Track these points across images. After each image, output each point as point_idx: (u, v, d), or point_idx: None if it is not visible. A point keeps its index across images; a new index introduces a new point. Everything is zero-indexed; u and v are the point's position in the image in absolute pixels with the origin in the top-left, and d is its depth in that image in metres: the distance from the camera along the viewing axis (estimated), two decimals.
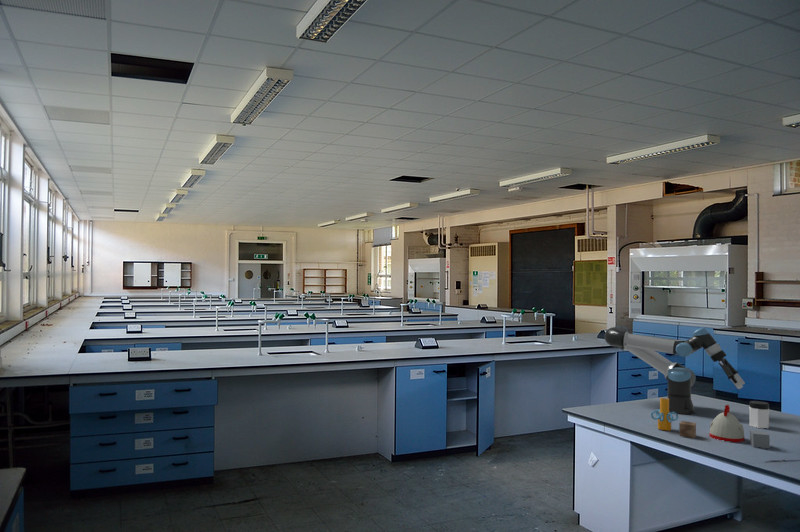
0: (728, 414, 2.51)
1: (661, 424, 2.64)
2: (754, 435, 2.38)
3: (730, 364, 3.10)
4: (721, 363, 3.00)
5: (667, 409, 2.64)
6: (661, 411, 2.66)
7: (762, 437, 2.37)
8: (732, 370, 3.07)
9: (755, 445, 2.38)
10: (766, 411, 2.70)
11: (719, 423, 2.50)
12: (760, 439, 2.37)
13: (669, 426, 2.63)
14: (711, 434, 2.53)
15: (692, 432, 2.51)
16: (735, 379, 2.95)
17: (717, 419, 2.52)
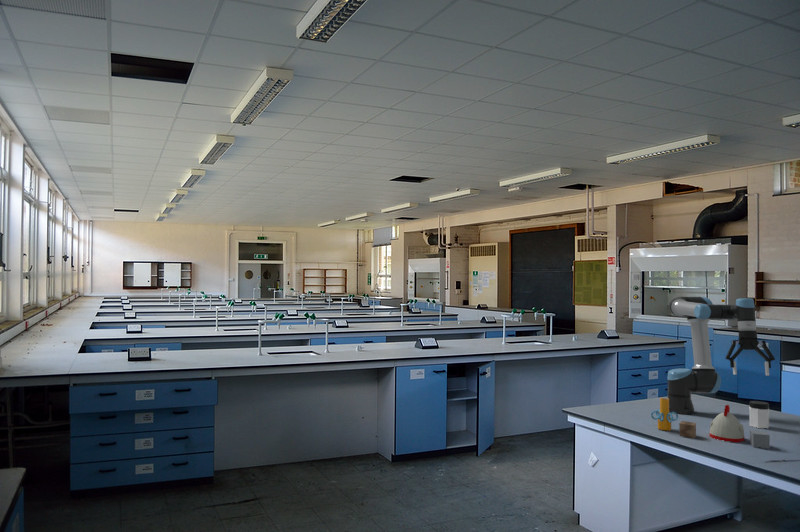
0: (728, 414, 2.51)
1: (661, 424, 2.64)
2: (754, 435, 2.38)
3: (768, 349, 2.59)
4: (732, 342, 2.65)
5: (667, 409, 2.64)
6: (661, 411, 2.66)
7: (762, 437, 2.37)
8: (762, 356, 2.60)
9: (755, 445, 2.38)
10: (766, 411, 2.70)
11: (719, 423, 2.50)
12: (760, 439, 2.37)
13: (669, 426, 2.63)
14: (711, 434, 2.53)
15: (692, 432, 2.51)
16: (732, 364, 2.62)
17: (717, 419, 2.52)
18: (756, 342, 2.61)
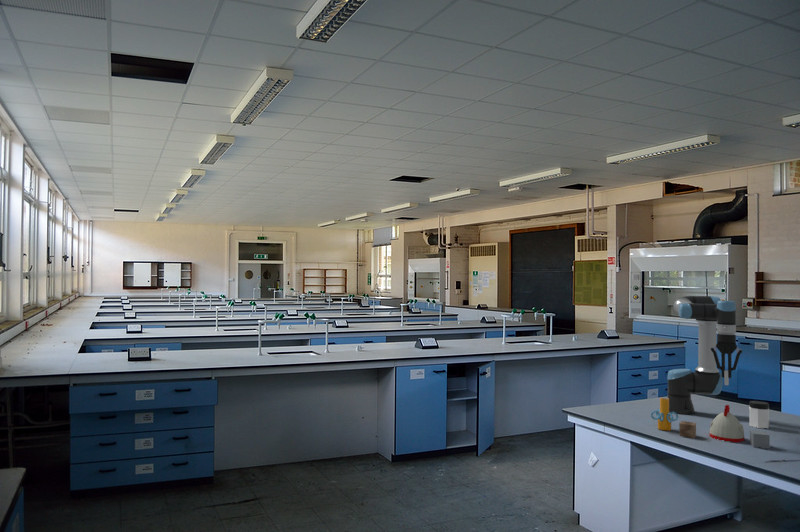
0: (728, 414, 2.51)
1: (661, 424, 2.64)
2: (754, 435, 2.38)
3: (737, 359, 2.50)
4: None
5: (667, 409, 2.64)
6: (661, 411, 2.66)
7: (762, 437, 2.37)
8: (728, 363, 2.53)
9: (755, 445, 2.38)
10: (766, 411, 2.70)
11: (719, 423, 2.50)
12: (760, 439, 2.37)
13: (669, 426, 2.63)
14: (711, 434, 2.53)
15: (692, 432, 2.51)
16: (723, 373, 2.53)
17: (717, 419, 2.52)
18: (733, 347, 2.51)
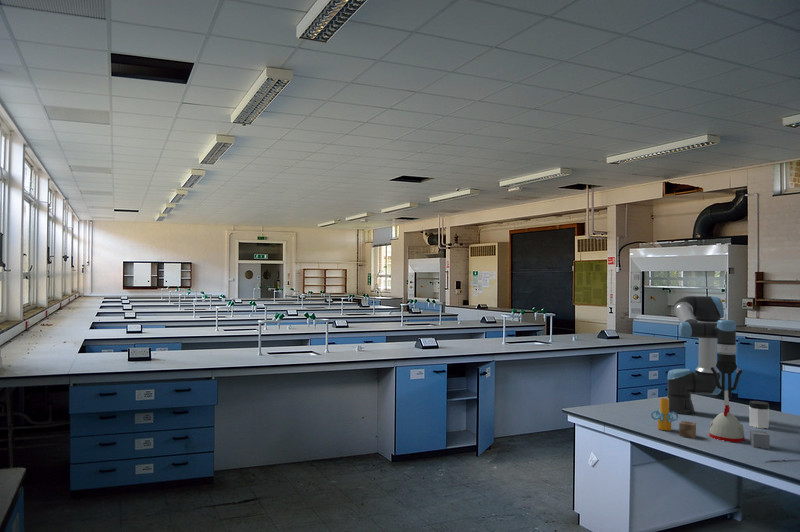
0: (728, 414, 2.51)
1: (661, 424, 2.64)
2: (754, 435, 2.38)
3: (738, 379, 2.50)
4: None
5: (667, 409, 2.64)
6: (661, 411, 2.66)
7: (762, 437, 2.37)
8: (728, 383, 2.52)
9: (755, 445, 2.38)
10: (766, 411, 2.70)
11: (719, 423, 2.50)
12: (760, 439, 2.37)
13: (669, 426, 2.63)
14: (711, 434, 2.53)
15: (692, 432, 2.51)
16: (723, 393, 2.53)
17: (717, 419, 2.52)
18: (733, 367, 2.51)
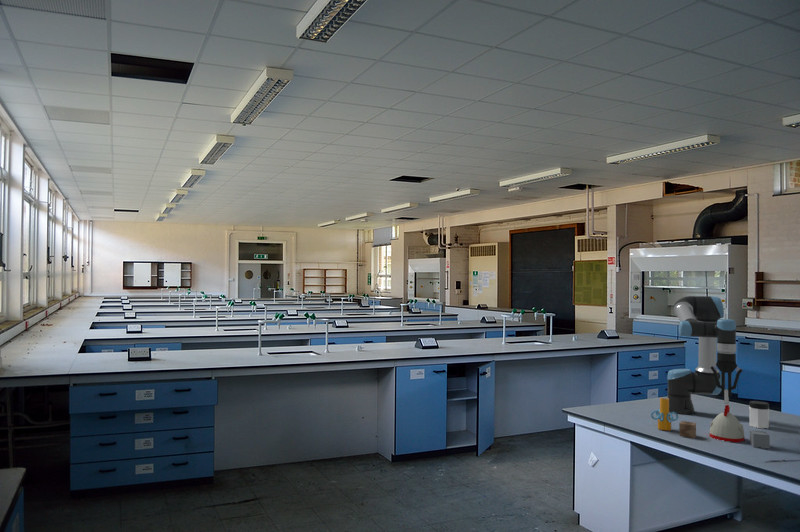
0: (728, 414, 2.51)
1: (661, 424, 2.64)
2: (754, 435, 2.38)
3: (737, 379, 2.50)
4: None
5: (667, 409, 2.64)
6: (661, 411, 2.66)
7: (762, 437, 2.37)
8: (728, 382, 2.53)
9: (755, 445, 2.38)
10: (766, 411, 2.70)
11: (719, 423, 2.50)
12: (760, 439, 2.37)
13: (669, 426, 2.63)
14: (711, 434, 2.53)
15: (692, 432, 2.51)
16: (723, 392, 2.53)
17: (717, 419, 2.52)
18: (733, 366, 2.51)
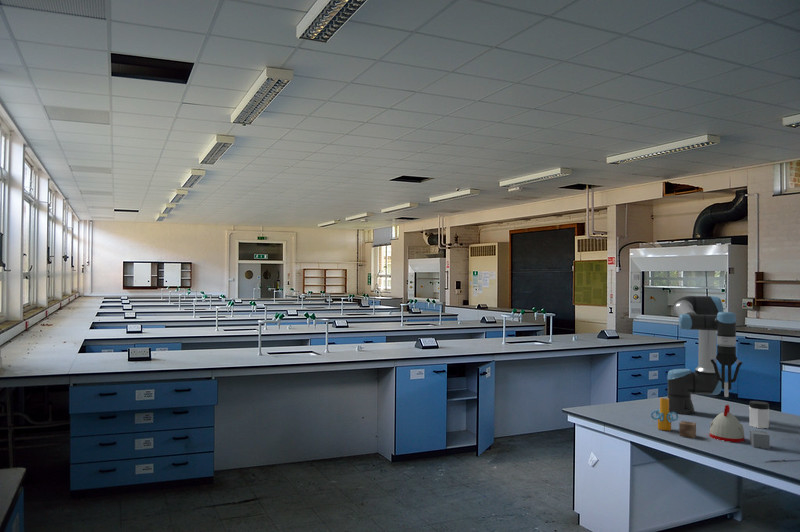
0: (728, 414, 2.51)
1: (661, 424, 2.64)
2: (754, 435, 2.38)
3: (737, 371, 2.50)
4: None
5: (667, 409, 2.64)
6: (661, 411, 2.66)
7: (762, 437, 2.37)
8: (728, 375, 2.53)
9: (755, 445, 2.38)
10: (766, 411, 2.70)
11: (719, 423, 2.50)
12: (760, 439, 2.37)
13: (669, 426, 2.63)
14: (711, 434, 2.53)
15: (692, 432, 2.51)
16: (723, 385, 2.54)
17: (717, 419, 2.52)
18: (733, 358, 2.51)
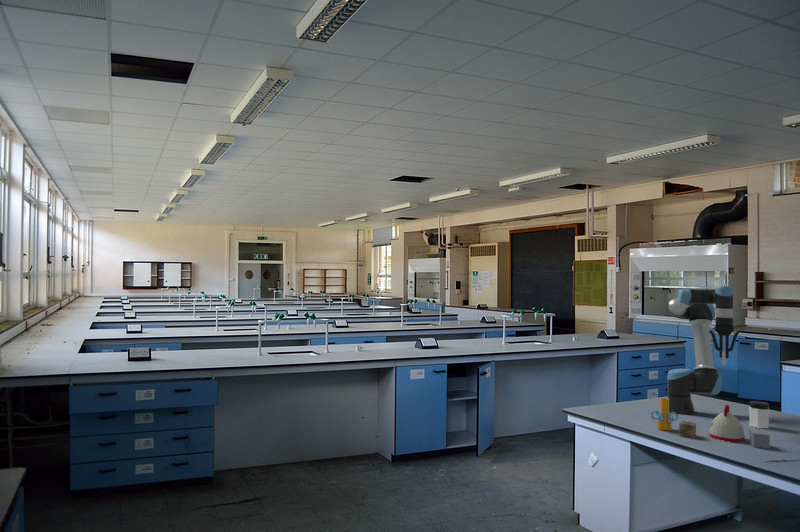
0: (728, 414, 2.51)
1: (661, 424, 2.64)
2: (754, 435, 2.38)
3: (734, 341, 2.67)
4: None
5: (667, 409, 2.64)
6: (661, 411, 2.66)
7: (762, 437, 2.37)
8: None
9: (755, 445, 2.38)
10: (766, 411, 2.70)
11: (719, 423, 2.50)
12: (760, 439, 2.37)
13: (669, 426, 2.63)
14: (711, 434, 2.53)
15: (692, 432, 2.51)
16: (721, 354, 2.71)
17: (717, 419, 2.52)
18: (731, 329, 2.68)
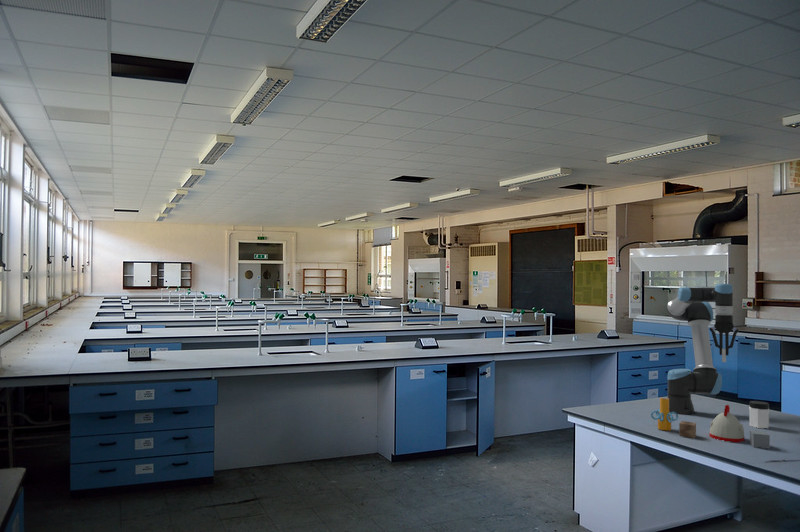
0: (728, 414, 2.51)
1: (661, 424, 2.64)
2: (754, 435, 2.38)
3: (734, 338, 2.70)
4: None
5: (667, 409, 2.64)
6: (661, 411, 2.66)
7: (762, 437, 2.37)
8: None
9: (755, 445, 2.38)
10: (766, 411, 2.70)
11: (719, 423, 2.50)
12: (760, 439, 2.37)
13: (669, 426, 2.63)
14: (711, 434, 2.53)
15: (692, 432, 2.51)
16: (721, 351, 2.73)
17: (717, 419, 2.52)
18: (730, 326, 2.71)
